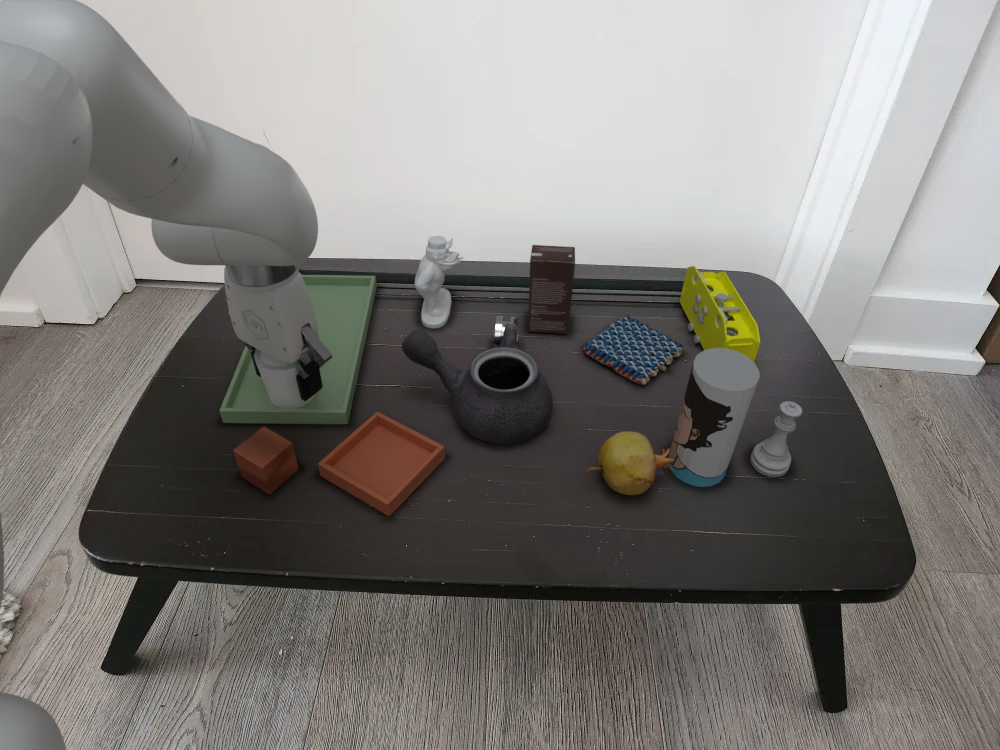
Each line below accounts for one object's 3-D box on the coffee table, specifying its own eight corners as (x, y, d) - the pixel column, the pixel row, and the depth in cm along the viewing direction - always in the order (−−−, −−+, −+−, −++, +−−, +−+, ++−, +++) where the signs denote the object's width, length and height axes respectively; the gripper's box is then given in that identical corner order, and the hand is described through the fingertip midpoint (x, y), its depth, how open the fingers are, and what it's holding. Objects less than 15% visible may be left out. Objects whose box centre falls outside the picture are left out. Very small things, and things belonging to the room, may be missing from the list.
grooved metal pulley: (496, 336, 102) (497, 308, 98) (517, 338, 102) (519, 309, 98) (493, 359, 98) (494, 330, 95) (515, 361, 98) (517, 332, 95)
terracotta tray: (389, 516, 78) (387, 504, 77) (319, 475, 82) (317, 463, 81) (445, 458, 85) (444, 446, 83) (378, 423, 89) (377, 410, 87)
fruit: (593, 479, 75) (687, 472, 76) (583, 422, 79) (672, 415, 80) (585, 506, 81) (672, 499, 82) (576, 451, 85) (659, 445, 86)
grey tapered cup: (309, 416, 89) (300, 373, 84) (255, 409, 89) (243, 366, 85) (327, 379, 94) (320, 337, 89) (277, 373, 94) (267, 330, 90)
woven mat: (686, 354, 100) (689, 342, 99) (641, 391, 94) (643, 379, 93) (624, 321, 105) (626, 310, 104) (579, 354, 99) (580, 343, 98)
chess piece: (789, 456, 86) (816, 395, 79) (786, 482, 83) (813, 421, 76) (752, 445, 87) (775, 384, 81) (747, 471, 84) (770, 410, 78)
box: (568, 316, 106) (576, 245, 98) (568, 335, 102) (576, 263, 94) (527, 313, 106) (531, 242, 98) (525, 333, 103) (529, 260, 95)
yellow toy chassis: (675, 306, 108) (686, 258, 103) (712, 304, 109) (724, 256, 103) (710, 377, 96) (724, 328, 91) (751, 374, 97) (768, 325, 91)
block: (269, 494, 80) (261, 468, 77) (241, 477, 82) (232, 450, 79) (299, 469, 83) (292, 442, 80) (271, 452, 85) (263, 426, 82)
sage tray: (347, 424, 88) (345, 412, 87) (223, 423, 88) (218, 410, 87) (376, 287, 110) (375, 275, 109) (276, 285, 110) (274, 274, 109)
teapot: (556, 370, 97) (562, 310, 90) (548, 455, 85) (554, 394, 79) (417, 357, 98) (413, 297, 92) (392, 439, 87) (384, 377, 80)
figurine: (458, 329, 103) (457, 257, 95) (413, 327, 103) (407, 255, 95) (464, 292, 110) (463, 222, 102) (421, 290, 110) (416, 220, 102)
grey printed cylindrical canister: (707, 438, 88) (737, 343, 78) (737, 479, 83) (772, 383, 73) (657, 450, 86) (681, 354, 76) (685, 492, 82) (714, 396, 72)
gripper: (179, 250, 79) (218, 372, 91) (293, 304, 72) (319, 428, 84) (233, 222, 84) (263, 341, 96) (345, 270, 77) (362, 392, 89)
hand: (289, 381), depth 90 cm, fingers closed on grey tapered cup, 6 cm apart
